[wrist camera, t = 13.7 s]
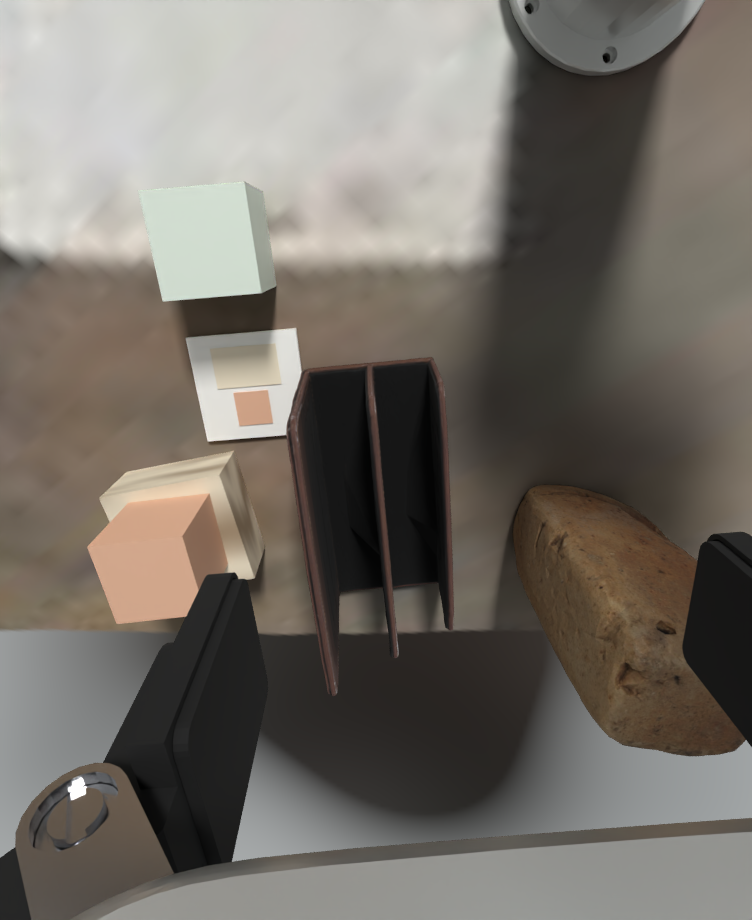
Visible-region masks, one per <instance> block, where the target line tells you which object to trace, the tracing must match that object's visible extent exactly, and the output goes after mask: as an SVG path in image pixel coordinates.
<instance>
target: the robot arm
mask: <svg viewBox="0 0 752 920" xmlns="http://www.w3.org/2000/svg"><path fill="white" fill-rule="evenodd" d="M704 2H705V0H509V3H510V6H511V9H512V13H513V16H514V18H515V20H516V21H517V23H518V25H519V27H520V29H521V31H522V33H523V35H524V36H525V37H526V39H527V40H528V41H529V42H530V44H531V45H532V46H533V47H534V49H535V50H536V51H537V52H538V53H539V54H541V55H542V56H543V57H544V58H546V59H547V60H548V61H549V62H551V63H552V64H554V65H556V66H558V67H560V68H562V69H564V70H566V71H568V72H572V73H577V74H582V75H586V76H599V75H610V74H614V73H618V72H622V71H626V70H628V69H630V68H632V67H634V66H636V65H638V64H640V63H643V62H645V61H646V60H648V59H649V58H651V57H652V56H654V55H655V54H657V53H658V52H660V51H661V50H663V49H664V48H665V47H666V46H667V45H668V44H670V43H671V42H672V41H673V40H674V39H675V38H676V37H678V36H679V35H680V34H681V32H682V31H683V30H684V29H685V28H686V26H687V25H688V24H689V23H690V22H691V20H692V19H693V18H694V17H695V16H696V14H697V13H698V11H699V10H700V8H701V6H702V5H703V3H704ZM527 6H528V7H530V8H531V11H532V12H531V14H528V13H527V12H526V11H525V7H527ZM603 55H604V56H606V57H607V63H605V62H604V61H603V57H602V56H603ZM682 650H683V655H684V658H685V660H686V662H687V664H688V665H689V667H690V668H691V669H692V670H693V672H694V673H695V674H696V676H697V677H698V678H699V679H700V681H701V682H702V683H703V685H704V686H705V687H706V689H707V690H708V691H709V692H710V694H711V695H712V696H713V698H714V699H715V700H716V701H717V703H718V704H719V705H720V707H721V708H722V709H723V710H724V712H725V713H726V714H727V716H728V717H729V718H730V720H731V721H732V722H733V723H734V725H735V726H736V727H737V729H738V730H739V731H740V732H741V734H742V735H743V736H744V738H745V739H746V740H747V741H748V743H749V744H750V745H751V746H752V536H750V535H749V534H747V533H745V532H733V533H721V534H713V535H711V536H710V537H709V538H708V540H707V542H704V543H703V544H702V545H701V547H700V550H699V556H698V561H697V567H696V572H695V578H694V583H693V589H692V594H691V600H690V605H689V611H688V616H687V622H686V627H685V633H684V638H683V644H682ZM267 692H268V681H267V675H266V670H265V665H264V660H263V655H262V650H261V645H260V641H259V636H258V631H257V626H256V621H255V616H254V611H253V607H252V602H251V597H250V592H249V587H248V583H247V581H246V579H238V576H237V574H236V573H235V572H232V573H219V574H208V575H206V577H205V578H204V580H203V582H202V585H201V587H200V589H199V591H198V593H197V595H196V597H195V599H194V601H193V603H192V606H191V608H190V610H189V612H188V614H187V616H186V618H185V620H184V622H183V624H182V626H181V629H180V631H179V633H178V635H177V637H176V639H175V641H174V643H167V644H165V645H164V646H162V648H161V650H160V651H159V653H158V655H157V657H156V659H155V661H154V663H153V664H152V667H151V668H150V671H149V672H148V674H147V676H146V679H145V680H144V682H143V684H142V686H141V688H140V690H139V692H138V694H137V696H136V698H135V700H134V702H133V704H132V706H131V708H130V710H129V712H128V714H127V716H126V718H125V720H124V722H123V724H122V726H121V728H120V730H119V732H118V734H117V736H116V738H115V740H114V742H113V744H112V746H111V748H110V750H109V752H108V754H107V756H106V758H105V760H104V762H103V763H93V764H89V765H85V766H82V767H78V768H76V769H74V770H72V771H70V772H68V773H66V774H64V775H62V776H61V777H60V778H58V779H57V780H55V781H54V782H52V783H51V784H50V785H48V786H47V787H46V788H45V789H44V790H43V791H42V792H41V793H40V794H39V795H38V796H37V797H36V798H35V799H34V800H33V801H32V802H31V804H30V805H29V807H28V808H27V810H26V811H25V813H24V814H23V816H22V817H21V820H20V823H19V825H18V829H17V831H16V844H15V848H14V849H12V850H11V851H9V852H8V853H6V854H5V855H4V856H2V857H1V858H0V920H752V818H746V819H731V820H716V821H702V822H688V823H674V824H661V825H647V826H634V827H621V828H606V829H593V830H581V831H566V832H553V833H542V834H541V833H540V834H527V835H514V836H501V837H489V838H476V839H464V840H452V841H439V842H426V843H415V844H402V845H389V846H377V847H364V848H353V849H343V850H333V851H323V852H314V853H303V854H293V855H283V856H273V857H263V858H255V859H248V860H242V861H235V862H232V858H233V853H234V849H235V844H236V839H237V834H238V830H239V825H240V820H241V815H242V811H243V806H244V802H245V797H246V792H247V788H248V783H249V778H250V773H251V769H252V764H253V759H254V755H255V750H256V746H257V741H258V736H259V731H260V727H261V722H262V717H263V713H264V708H265V703H266V699H267Z"/></svg>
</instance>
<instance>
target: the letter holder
mask: <svg viewBox="0 0 752 920" xmlns="http://www.w3.org/2000/svg"><path fill="white" fill-rule="evenodd" d="M286 435H287V443H288V450H289V456H290V462H291V468H292V476H293V482H294V489H295V496H296V503H297V510H298V517H299V524H300V530H301V537H302V543H303V550H304V557H305V564H306V571H307V577H308V583H309V589H310V595H311V600H312V607H313V611H314V618H315V624H316V630H317V635H318V642H319V647H320V654H321V659H322V665H323V669H324V674H325V679H326V685H327V690H328V693H329V694H332V696H335V695H336V694H337V690H338V670H339V669H338V667H339V665H338V663H339V662H338V659H339V658H338V656H339V647H338V646H339V596H340V592H346V591H354V590H364V589H376V588H383V591H384V599H385V607H386V619H387V626H388V632H389V641H390V656H391V657H394V658H397V657H398V654H399V652H398V640H397V629H396V619H395V610H394V600H393V588H395V587H401V586H410V585H420V584H432V583H439V589H440V595H441V600H442V607H443V613H444V623H445V627H446V628H447V629H449V630H452V629H453V624H454V597H453V558H452V556H453V554H452V531H451V530H452V528H451V524H452V523H451V505H450V483H449V453H448V435H447V419H446V404H445V389H444V384H443V381H442V378H441V376H440V373H439V371H438V368H437V366H436V364H435V362H434V359H433V358H432V357H429V358H418V359H408V360H398V361H387V362H377V363H364V364H352V365H342V366H331V367H321V368H312V369H306V370H305V371H303V372H302V373H301V376H300V380H299V383H298V386H297V389H296V391H295V394H294V397H293V401H292V407H291V412H290V415H289V418H288V421H287V427H286Z"/></svg>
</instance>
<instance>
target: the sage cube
mask: <svg viewBox="0 0 752 920" xmlns="http://www.w3.org/2000/svg"><path fill="white" fill-rule="evenodd" d="M138 193H139V197H140V202H141V206H142V211H143V215H144V220H145V224H146V229H147V233H148V238H149V242H150V246H151V251H152V255H153V260H154V264H155V269H156V273H157V278H158V282H159V287H160V291H161V295H162V300H163V301H174V300H186V299H198V298H210V297H222V296H234V295H246V294H258V293H263V292H265V291H267V290H269V289H271V288H274V287H276V279H275V272H274V265H273V258H272V251H271V244H270V237H269V230H268V223H267V216H266V209H265V202H264V195H263V191H261V190H259V189H257V188H255V187H254V186H252V185H250V184H248V183H246V182H233V183H221V184H210V185H198V186H186V187H175V188H163V189H151V190H140V191H138Z"/></svg>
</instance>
